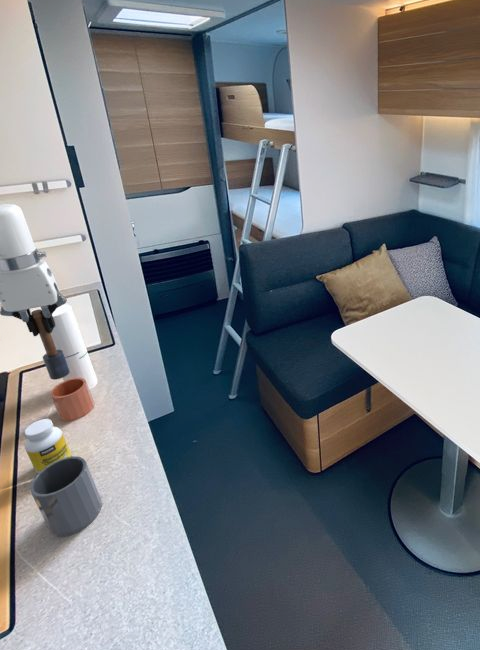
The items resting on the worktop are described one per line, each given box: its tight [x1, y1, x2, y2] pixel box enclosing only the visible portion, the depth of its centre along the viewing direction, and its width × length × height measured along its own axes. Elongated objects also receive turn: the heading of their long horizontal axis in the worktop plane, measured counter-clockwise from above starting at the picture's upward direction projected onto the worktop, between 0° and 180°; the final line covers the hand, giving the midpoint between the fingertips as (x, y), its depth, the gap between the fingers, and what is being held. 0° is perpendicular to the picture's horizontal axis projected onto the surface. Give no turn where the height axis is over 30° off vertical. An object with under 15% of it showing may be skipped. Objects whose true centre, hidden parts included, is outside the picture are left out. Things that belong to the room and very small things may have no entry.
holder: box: [49, 378, 95, 422], centre depth 106 cm, size 8×8×8 cm
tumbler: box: [29, 455, 103, 538], centre depth 79 cm, size 9×9×11 cm
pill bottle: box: [24, 418, 72, 475], centre depth 90 cm, size 6×6×12 cm
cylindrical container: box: [51, 303, 98, 390], centre depth 112 cm, size 7×7×25 cm
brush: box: [31, 308, 70, 380], centre depth 99 cm, size 4×4×18 cm
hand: (44, 331), depth 97 cm, fingers closed on brush, 2 cm apart
